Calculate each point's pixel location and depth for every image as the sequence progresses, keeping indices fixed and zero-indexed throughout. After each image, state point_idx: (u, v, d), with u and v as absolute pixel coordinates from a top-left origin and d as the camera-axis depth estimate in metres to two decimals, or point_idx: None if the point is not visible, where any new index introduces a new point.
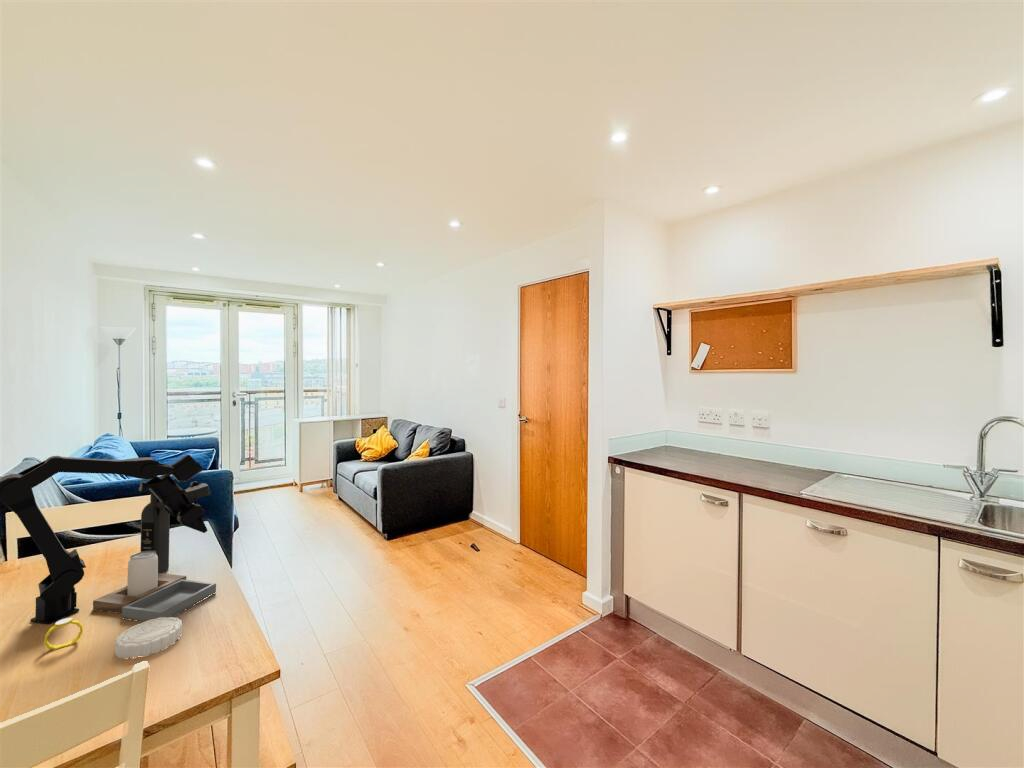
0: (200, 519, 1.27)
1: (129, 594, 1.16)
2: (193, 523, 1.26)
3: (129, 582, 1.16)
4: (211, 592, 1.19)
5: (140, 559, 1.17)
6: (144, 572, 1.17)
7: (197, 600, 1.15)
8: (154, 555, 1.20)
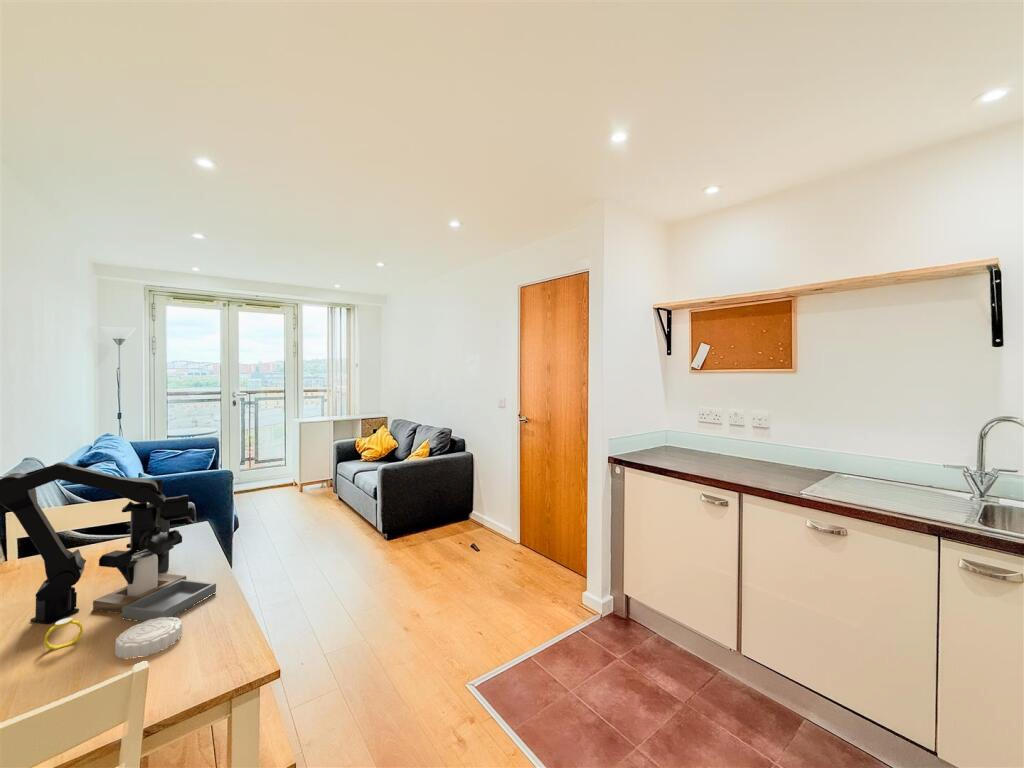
0: (127, 569, 1.14)
1: (129, 594, 1.16)
2: (123, 567, 1.15)
3: None
4: (211, 592, 1.19)
5: (140, 559, 1.16)
6: (144, 572, 1.17)
7: (197, 600, 1.15)
8: (154, 555, 1.20)
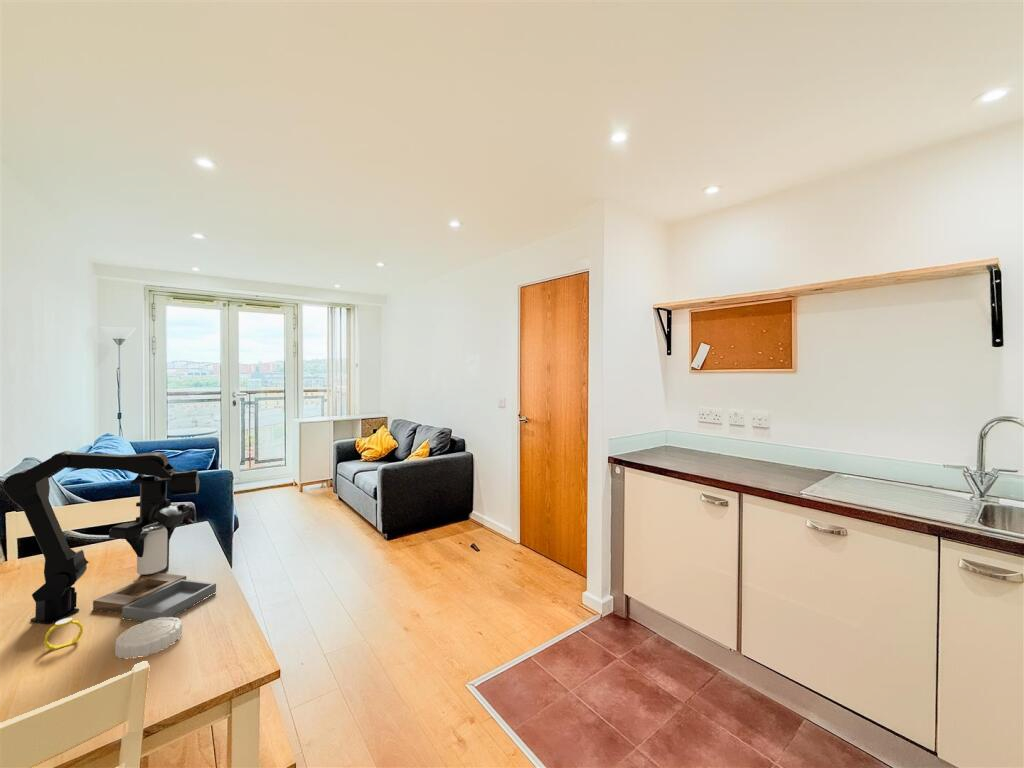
0: (137, 541, 1.13)
1: (139, 567, 1.14)
2: (132, 540, 1.13)
3: None
4: (211, 592, 1.19)
5: (150, 532, 1.15)
6: (154, 546, 1.16)
7: (197, 600, 1.15)
8: (164, 529, 1.18)
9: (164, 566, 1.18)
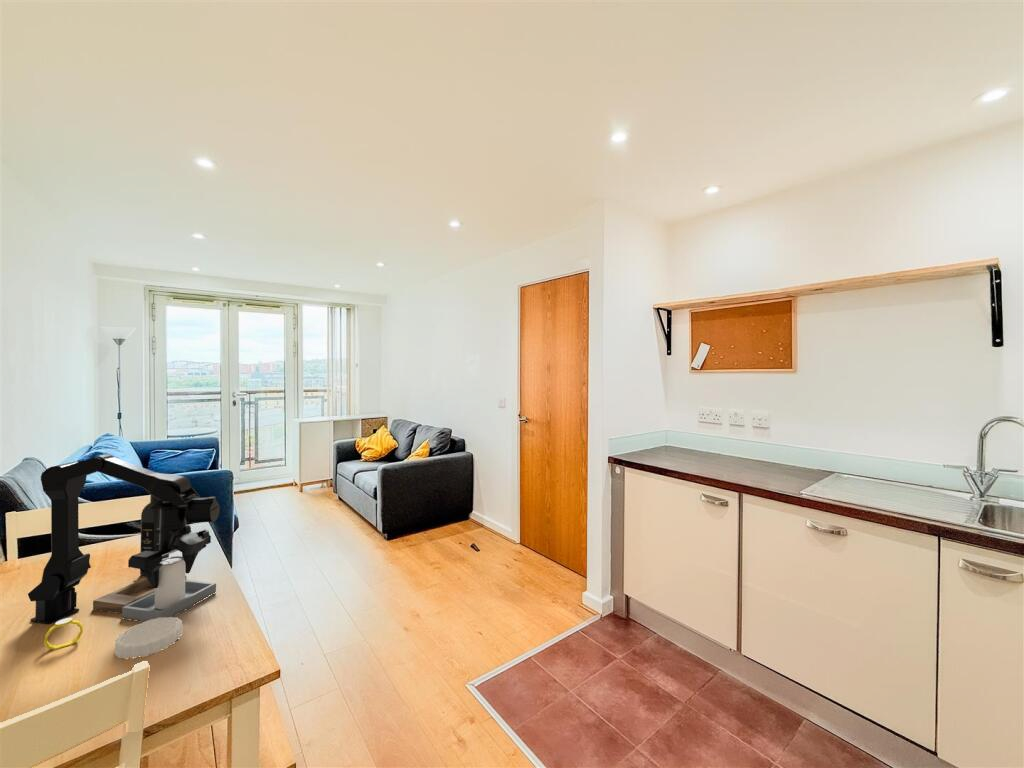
0: None
1: (157, 602, 1.11)
2: (147, 570, 1.09)
3: (157, 590, 1.11)
4: (211, 592, 1.19)
5: (168, 565, 1.11)
6: (173, 579, 1.12)
7: (197, 600, 1.15)
8: (182, 561, 1.14)
9: None
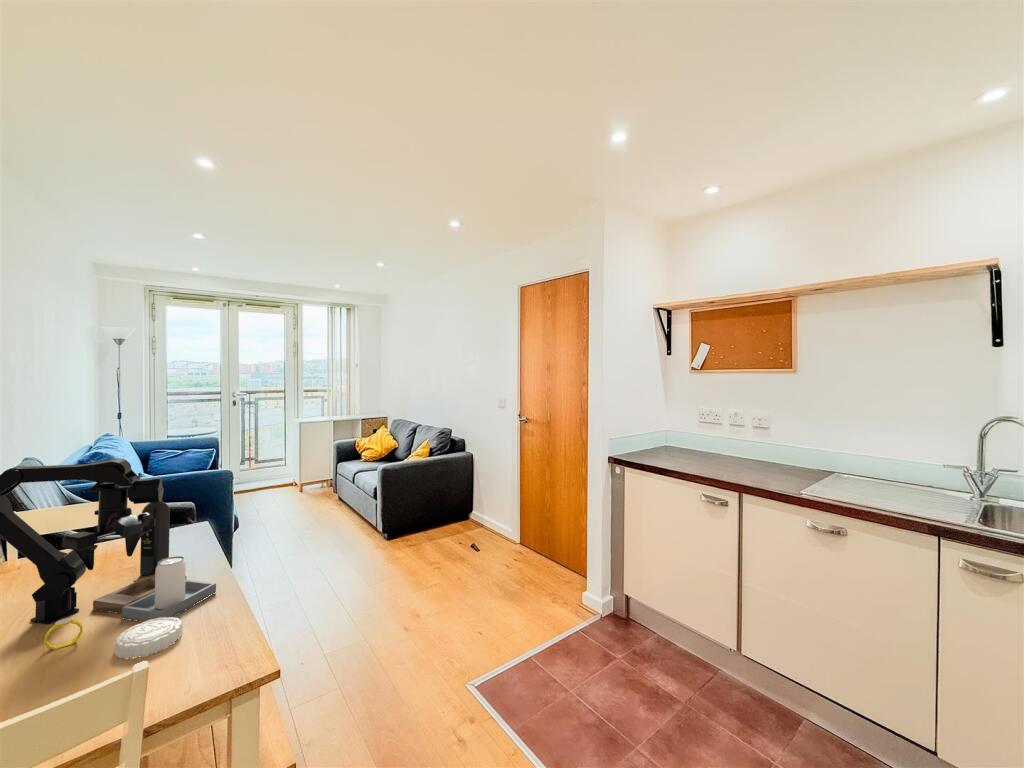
0: (86, 553, 1.07)
1: (157, 602, 1.11)
2: (82, 552, 1.08)
3: (157, 589, 1.11)
4: (211, 592, 1.19)
5: (168, 565, 1.11)
6: (173, 579, 1.12)
7: (197, 600, 1.15)
8: (182, 561, 1.14)
9: None
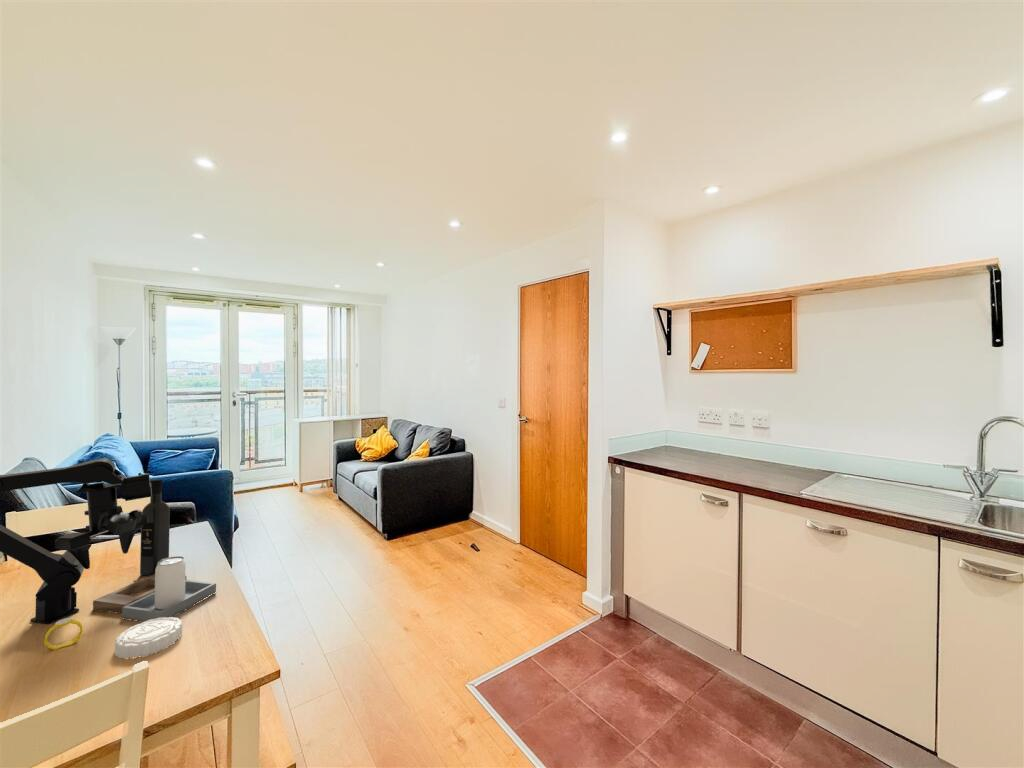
0: (81, 553, 1.08)
1: (157, 602, 1.11)
2: (76, 552, 1.08)
3: (157, 590, 1.11)
4: (211, 592, 1.19)
5: (168, 565, 1.11)
6: (173, 579, 1.12)
7: (197, 600, 1.15)
8: (182, 561, 1.14)
9: None
